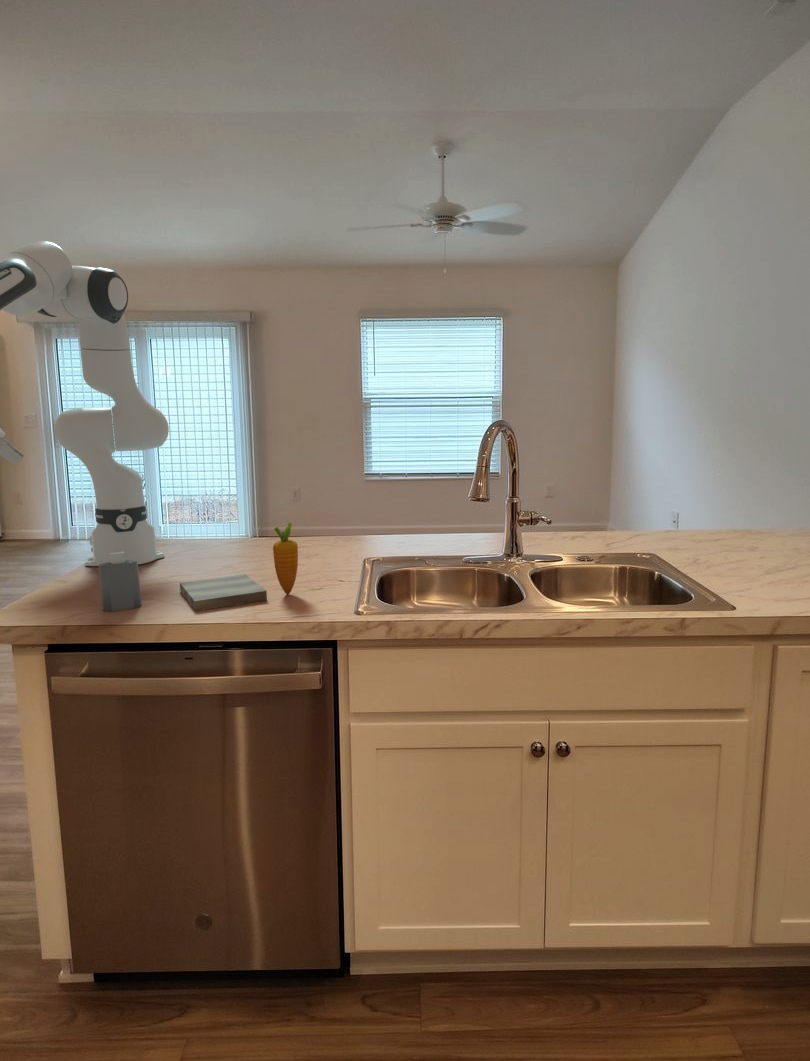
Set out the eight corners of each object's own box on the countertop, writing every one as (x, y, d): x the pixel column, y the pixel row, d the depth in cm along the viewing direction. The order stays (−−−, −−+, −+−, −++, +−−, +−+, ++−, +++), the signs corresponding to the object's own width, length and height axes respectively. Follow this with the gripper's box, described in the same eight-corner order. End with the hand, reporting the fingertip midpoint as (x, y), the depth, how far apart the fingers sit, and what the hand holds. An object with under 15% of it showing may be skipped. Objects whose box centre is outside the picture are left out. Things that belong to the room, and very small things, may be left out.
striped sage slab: (180, 591, 142) (179, 582, 141) (246, 582, 148) (245, 574, 148) (195, 611, 128) (194, 601, 128) (266, 600, 134) (266, 590, 134)
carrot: (276, 598, 135) (272, 525, 133) (274, 592, 140) (270, 521, 137) (301, 596, 137) (298, 524, 134) (298, 590, 141) (294, 520, 139)
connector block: (103, 612, 128) (97, 556, 126) (102, 608, 131) (96, 553, 129) (142, 606, 131) (137, 552, 129) (140, 603, 134) (135, 549, 132)
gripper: (-46, 389, 105) (32, 450, 111) (-34, 393, 122) (33, 445, 129) (-77, 419, 103) (4, 478, 110) (-60, 418, 121) (9, 470, 127)
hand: (20, 460), depth 119 cm, fingers open, 8 cm apart
